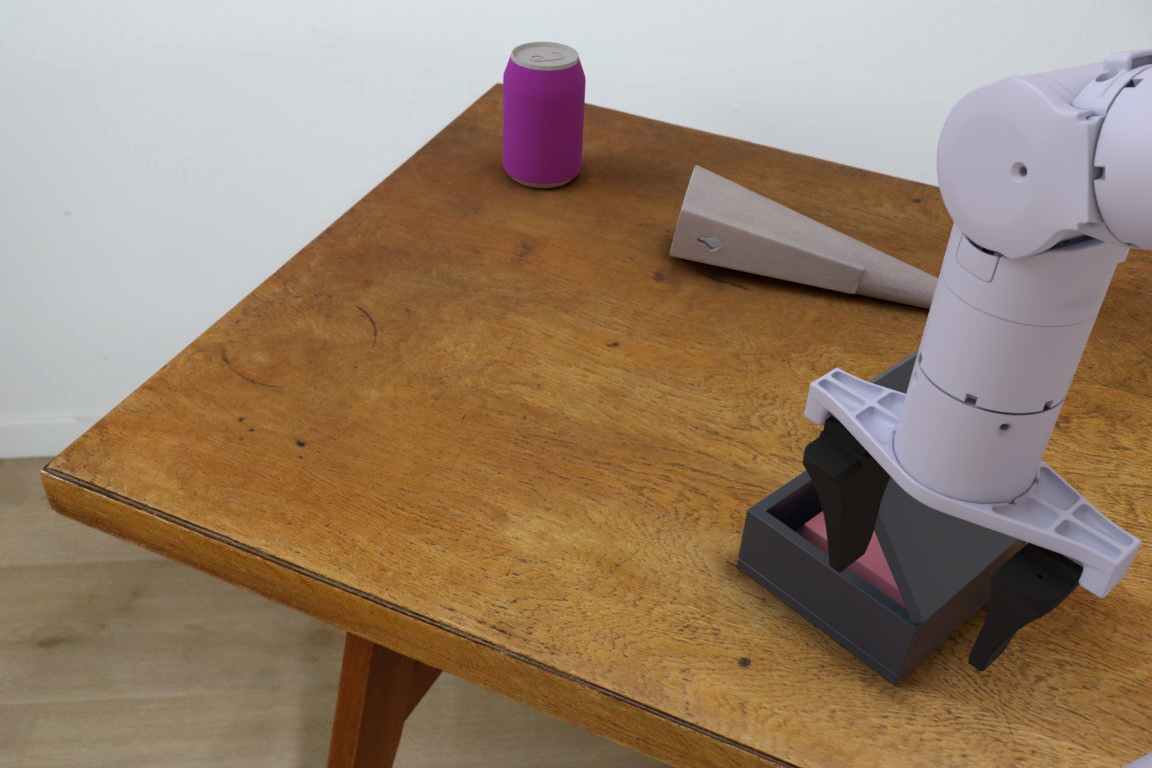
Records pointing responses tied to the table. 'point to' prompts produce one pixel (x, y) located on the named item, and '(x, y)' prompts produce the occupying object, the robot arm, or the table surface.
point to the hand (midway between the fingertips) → (913, 606)
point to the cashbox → (846, 587)
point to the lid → (929, 536)
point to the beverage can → (543, 114)
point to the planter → (786, 245)
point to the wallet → (866, 566)
